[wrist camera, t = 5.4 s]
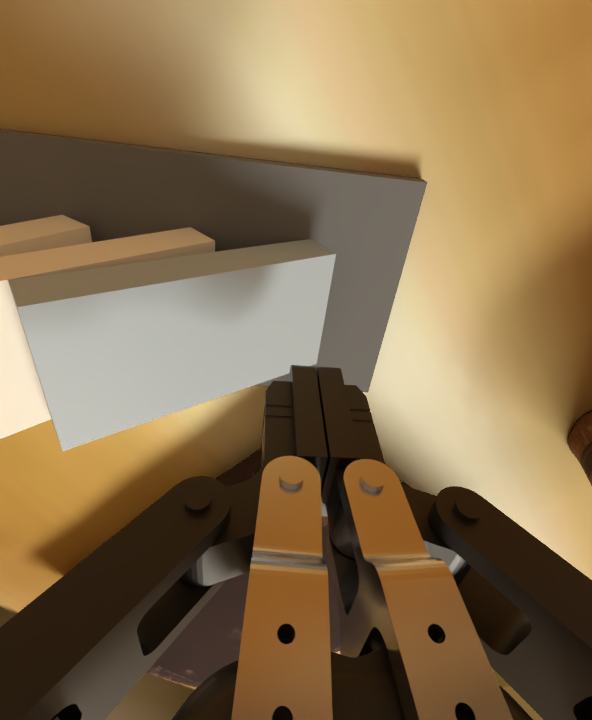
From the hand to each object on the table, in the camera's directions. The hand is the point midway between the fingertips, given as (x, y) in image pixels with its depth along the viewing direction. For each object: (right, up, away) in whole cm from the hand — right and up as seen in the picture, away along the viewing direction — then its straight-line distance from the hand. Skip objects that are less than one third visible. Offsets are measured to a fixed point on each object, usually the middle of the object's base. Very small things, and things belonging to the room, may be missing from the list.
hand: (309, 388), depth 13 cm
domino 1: (0, +3, +4) cm, 5 cm away
